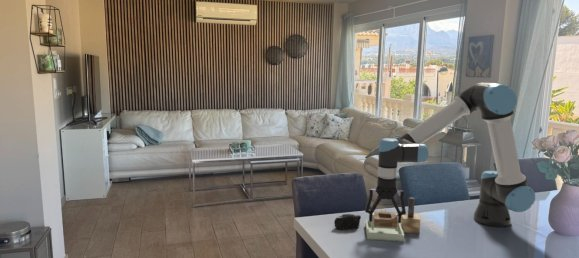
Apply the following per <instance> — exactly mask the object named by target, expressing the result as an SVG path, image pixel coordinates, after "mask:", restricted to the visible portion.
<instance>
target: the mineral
mask: <svg viewBox="0 0 579 258" xmlns="http://www.w3.org/2000/svg"><path fill="white" fill-rule="evenodd" d="M361 219H362V216H361V215H358V214H357V215H355V214H353V213H346V214H345V213H344V214H342V215H338V216H337V217H335V219H334V221H333V223H334V228H337V229H339V230H347V231H348V230H354V229H358V228H359V227H360V223H361Z"/></svg>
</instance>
